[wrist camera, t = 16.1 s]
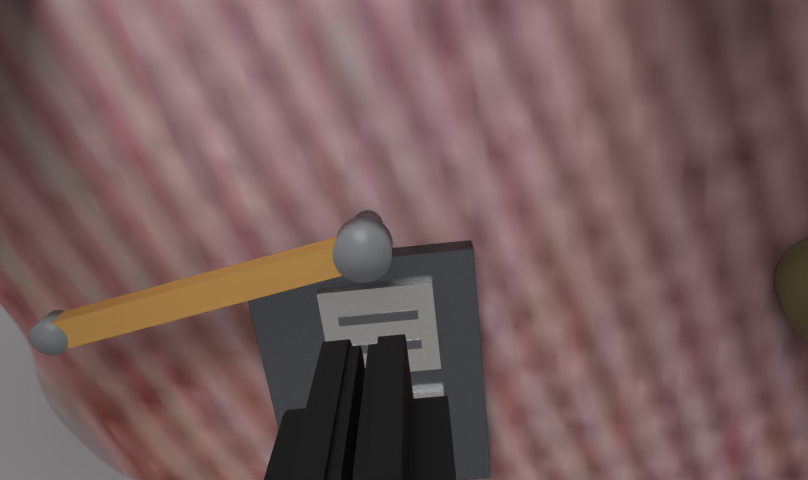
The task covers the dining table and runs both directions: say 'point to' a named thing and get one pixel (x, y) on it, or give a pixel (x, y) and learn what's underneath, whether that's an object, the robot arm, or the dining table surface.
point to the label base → (382, 316)
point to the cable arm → (222, 287)
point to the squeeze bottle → (794, 287)
